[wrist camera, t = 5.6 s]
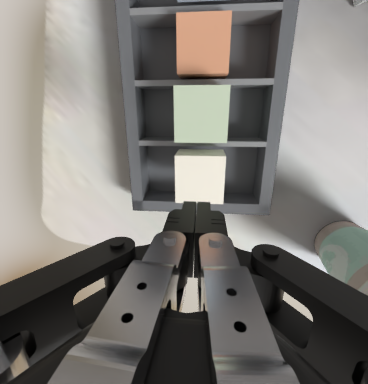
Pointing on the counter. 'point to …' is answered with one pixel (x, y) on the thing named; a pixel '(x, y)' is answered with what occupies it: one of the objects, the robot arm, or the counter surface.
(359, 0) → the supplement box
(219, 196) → the cream cube
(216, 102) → the pale green cube
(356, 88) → the counter surface
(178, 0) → the pale blue cube
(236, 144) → the grey compartment tray
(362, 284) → the coffee cup
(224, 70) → the orange cube
